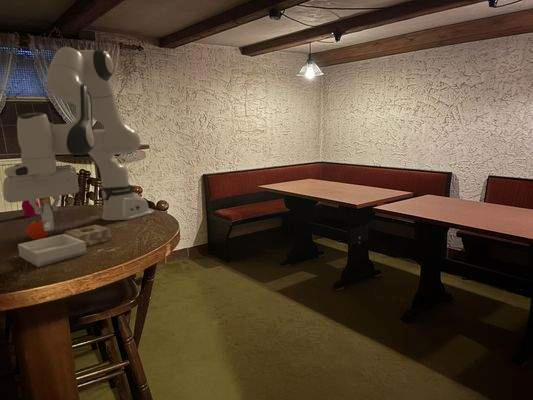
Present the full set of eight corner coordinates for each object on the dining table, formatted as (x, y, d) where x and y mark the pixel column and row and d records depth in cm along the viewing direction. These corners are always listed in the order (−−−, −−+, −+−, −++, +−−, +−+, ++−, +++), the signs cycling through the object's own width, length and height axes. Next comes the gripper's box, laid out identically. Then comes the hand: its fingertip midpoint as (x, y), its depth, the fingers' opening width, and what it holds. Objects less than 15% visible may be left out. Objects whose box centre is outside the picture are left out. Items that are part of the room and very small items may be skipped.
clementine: (21, 242, 136) (17, 223, 135) (35, 236, 143) (32, 218, 142) (41, 242, 135) (38, 223, 134) (54, 236, 142) (51, 218, 140)
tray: (65, 245, 130) (64, 233, 129) (86, 253, 120) (85, 241, 119) (19, 256, 120) (17, 244, 119) (38, 266, 110) (36, 253, 109)
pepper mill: (43, 214, 183) (37, 173, 179) (28, 217, 177) (21, 175, 173) (35, 213, 187) (29, 173, 183) (20, 216, 181) (13, 174, 177)
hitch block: (96, 235, 142) (95, 224, 141) (111, 239, 135) (110, 228, 134) (66, 242, 134) (64, 231, 133) (79, 247, 126) (78, 236, 126)
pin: (52, 227, 120) (47, 196, 118) (56, 229, 118) (51, 197, 116) (42, 229, 118) (37, 198, 116) (45, 231, 116) (41, 199, 114)
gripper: (71, 163, 124) (76, 205, 127) (-3, 170, 109) (5, 217, 112) (79, 164, 120) (84, 207, 123) (4, 171, 105) (12, 219, 108)
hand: (46, 212), depth 117 cm, fingers closed on pin, 3 cm apart
